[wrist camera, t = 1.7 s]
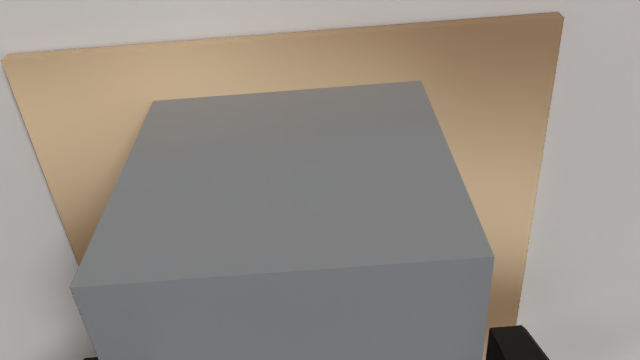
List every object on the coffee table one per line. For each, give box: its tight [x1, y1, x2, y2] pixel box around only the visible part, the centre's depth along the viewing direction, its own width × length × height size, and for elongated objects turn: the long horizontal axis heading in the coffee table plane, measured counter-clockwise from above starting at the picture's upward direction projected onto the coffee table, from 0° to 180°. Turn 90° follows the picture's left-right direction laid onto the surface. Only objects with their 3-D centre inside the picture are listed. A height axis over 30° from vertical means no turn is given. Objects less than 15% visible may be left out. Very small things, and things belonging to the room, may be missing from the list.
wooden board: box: [1, 12, 564, 360], centre depth 14 cm, size 12×10×1 cm
